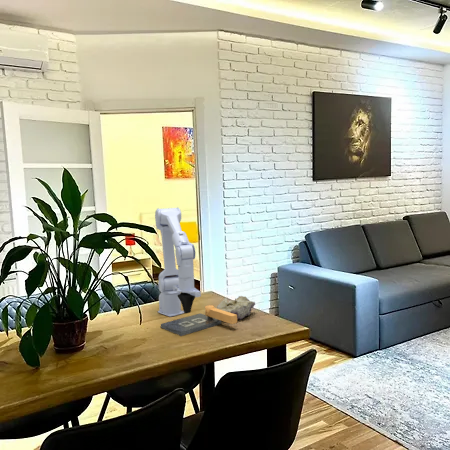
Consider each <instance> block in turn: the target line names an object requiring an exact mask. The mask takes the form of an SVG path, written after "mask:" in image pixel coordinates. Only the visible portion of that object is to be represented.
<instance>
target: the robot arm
mask: <svg viewBox="0 0 450 450" xmlns="http://www.w3.org/2000/svg"><path fill="white" fill-rule="evenodd" d="M154 214H155V215H154V220H155V226H156V227H155V228H156V229H157V230H159V231H160V234H161V243H162V244H161V245H162V254H163V264H164V265H163V266H164V267H163V268H164V269H163V270H162V271H161V272H160V273H159V274H158V290H159V295H158V305H159V306H158V307H159V308H158V309H159V310H158V311H157V313H159V314H161V315H165V316H167V317H169V318H171V317H175V316H179V315H182V314H189V313H191V312H192V307H193V303H194V301H195V299H196V298H200V297H201V296H202V292H201V291H200V290H199V289H197V288H196V287H195V276H194V275H195V272H194V271H195V269H194V260H195V259H196V248H195V245H194V244H193V243H191V242H190V241H189V238H188V235H187V233H186V232H185V231H182V227H181V224H180V223H181V221H182V211H181V209H180V208H179V207H169V208H159V207H158V208H156V210H155V212H154ZM176 265H177V266H176ZM182 309H183V310H182Z"/></svg>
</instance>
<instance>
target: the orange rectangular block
mask: <svg viewBox="0 0 450 450" xmlns="http://www.w3.org/2000/svg"><path fill="white" fill-rule="evenodd" d="M204 311H205V312H204V313H205V314H204V315H205V316H208V317H212V318H215V319H218V320H221V322H224V323H227V324H230V325H235V324H237V323H238V319H237V315H236V314H233V313H230V312H226V311H223V310H220V309H217V307H215V305H212V304H211V305H210V304H209V305H208V304H207V305H205V307H204Z"/></svg>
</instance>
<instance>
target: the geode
mask: <svg viewBox="0 0 450 450" xmlns="http://www.w3.org/2000/svg"><path fill="white" fill-rule="evenodd" d="M255 305H256V302H255V301H252V300H250V299H249V298H247V297H246V296H243V295H238V297H237V298H234V300H233V299H231V300H229V301H228V299H227V298H226V297H225V298H224V299H223V300H222V301H220V303H219V304H217V306H216V308H217V309H220V310H223V311H226V312H230V313H233V314H236V315H237V320H239V321H241V320H243V319H244V318H245V317H247V316H250V315H251V312H252V309H254V308H255Z"/></svg>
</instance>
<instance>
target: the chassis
mask: <svg viewBox="0 0 450 450" xmlns="http://www.w3.org/2000/svg"><path fill="white" fill-rule="evenodd" d="M221 324H222V321H221V320H218V319H215V318H212V317H208V316H205V314H204V313H201V312H200V313H196V314H193V315H188V316H185V317H181V318H179V319H173V320H170V321H166V322H162V323H160V328H161V329H163V330H165V331H167V332H171V334H172V333H173V334H175V335H177V336H180V337H182V336H187V335H189V334H192V333H195V332H199V331H203V330H206V329H210V328H213V327H216V326H219V325H221Z"/></svg>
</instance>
